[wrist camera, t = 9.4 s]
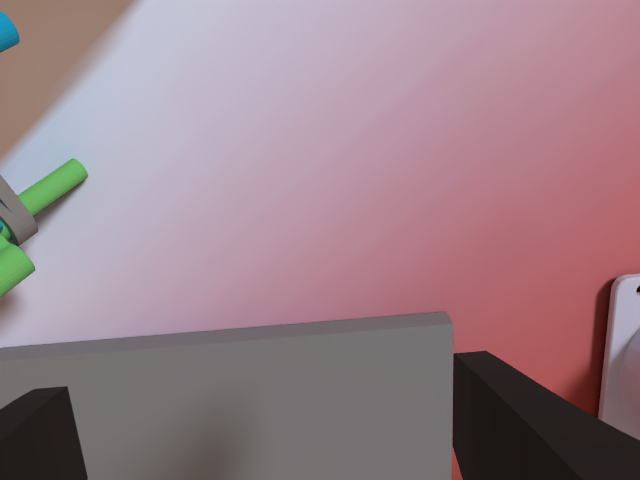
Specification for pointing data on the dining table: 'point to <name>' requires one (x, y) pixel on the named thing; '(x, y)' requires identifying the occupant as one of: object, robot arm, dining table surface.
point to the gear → (26, 199)
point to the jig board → (257, 400)
